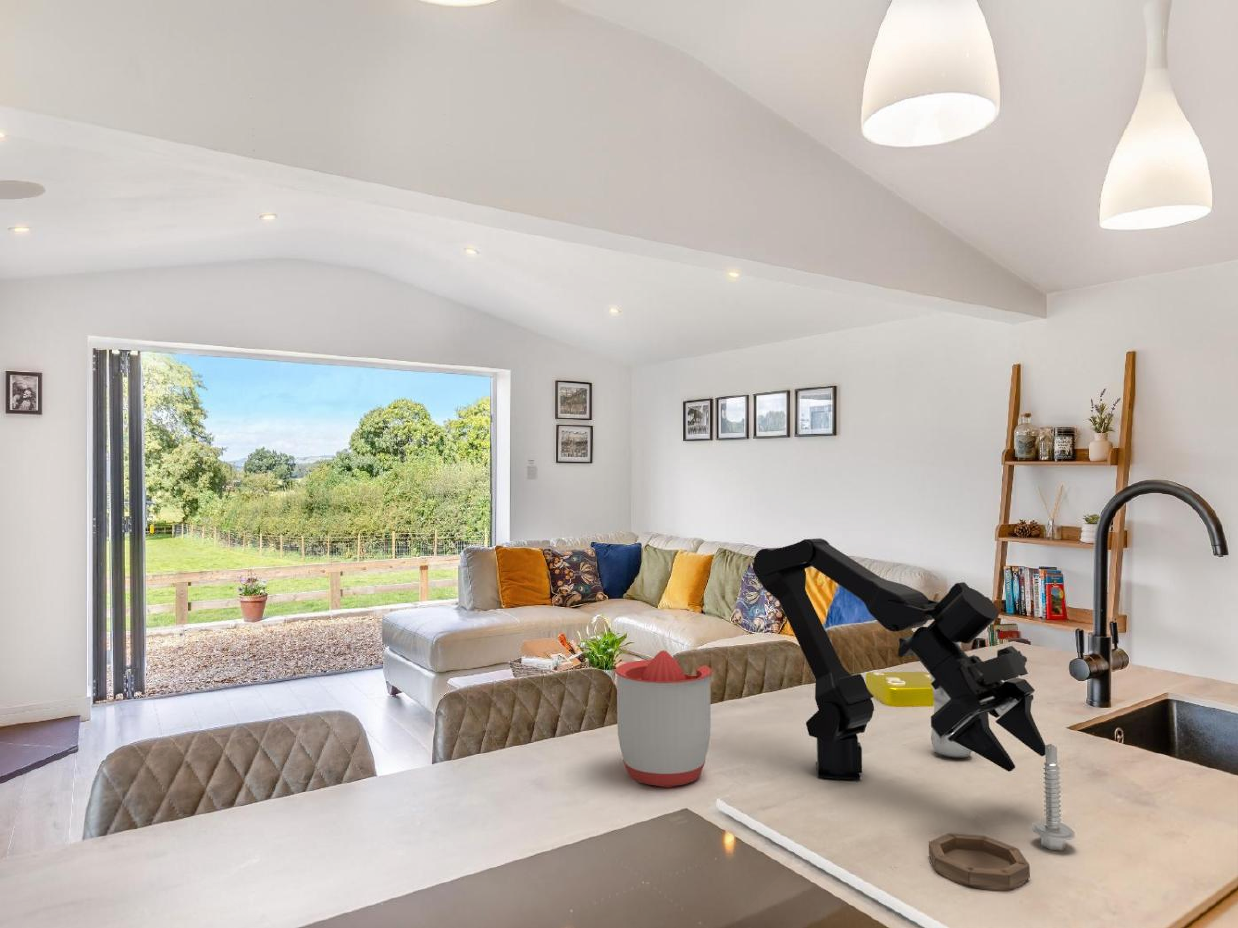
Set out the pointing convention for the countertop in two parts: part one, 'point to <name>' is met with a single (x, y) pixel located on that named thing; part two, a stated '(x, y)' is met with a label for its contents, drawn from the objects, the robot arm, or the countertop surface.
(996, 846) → the brown wooden tray
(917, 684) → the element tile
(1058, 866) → the countertop surface
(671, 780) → the citrus juicer
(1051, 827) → the screw
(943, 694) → the plastic bottle
